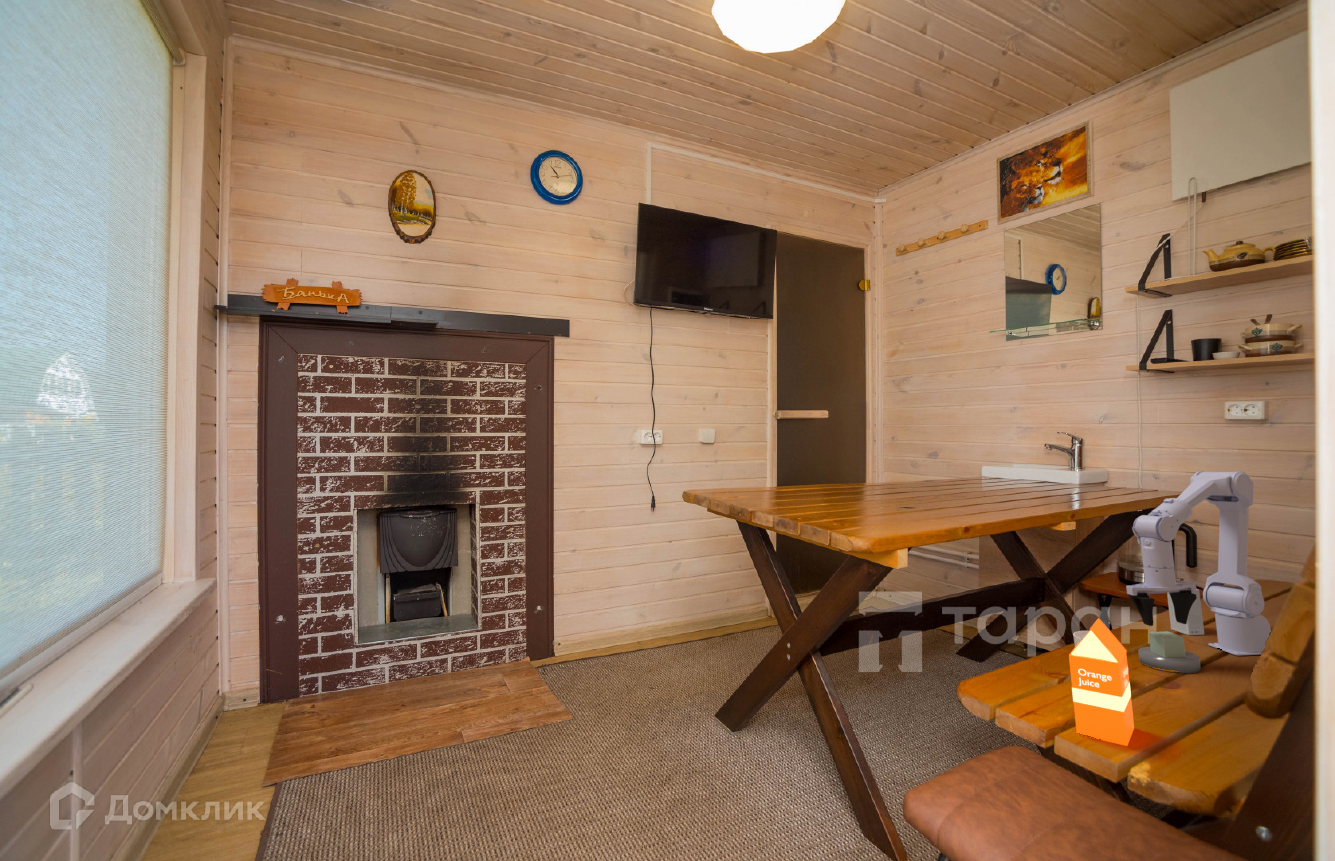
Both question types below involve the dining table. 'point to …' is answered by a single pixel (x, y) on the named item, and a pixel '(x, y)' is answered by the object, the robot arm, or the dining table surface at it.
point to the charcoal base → (1170, 661)
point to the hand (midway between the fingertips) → (1164, 623)
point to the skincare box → (1193, 621)
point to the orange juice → (1101, 687)
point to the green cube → (1167, 644)
